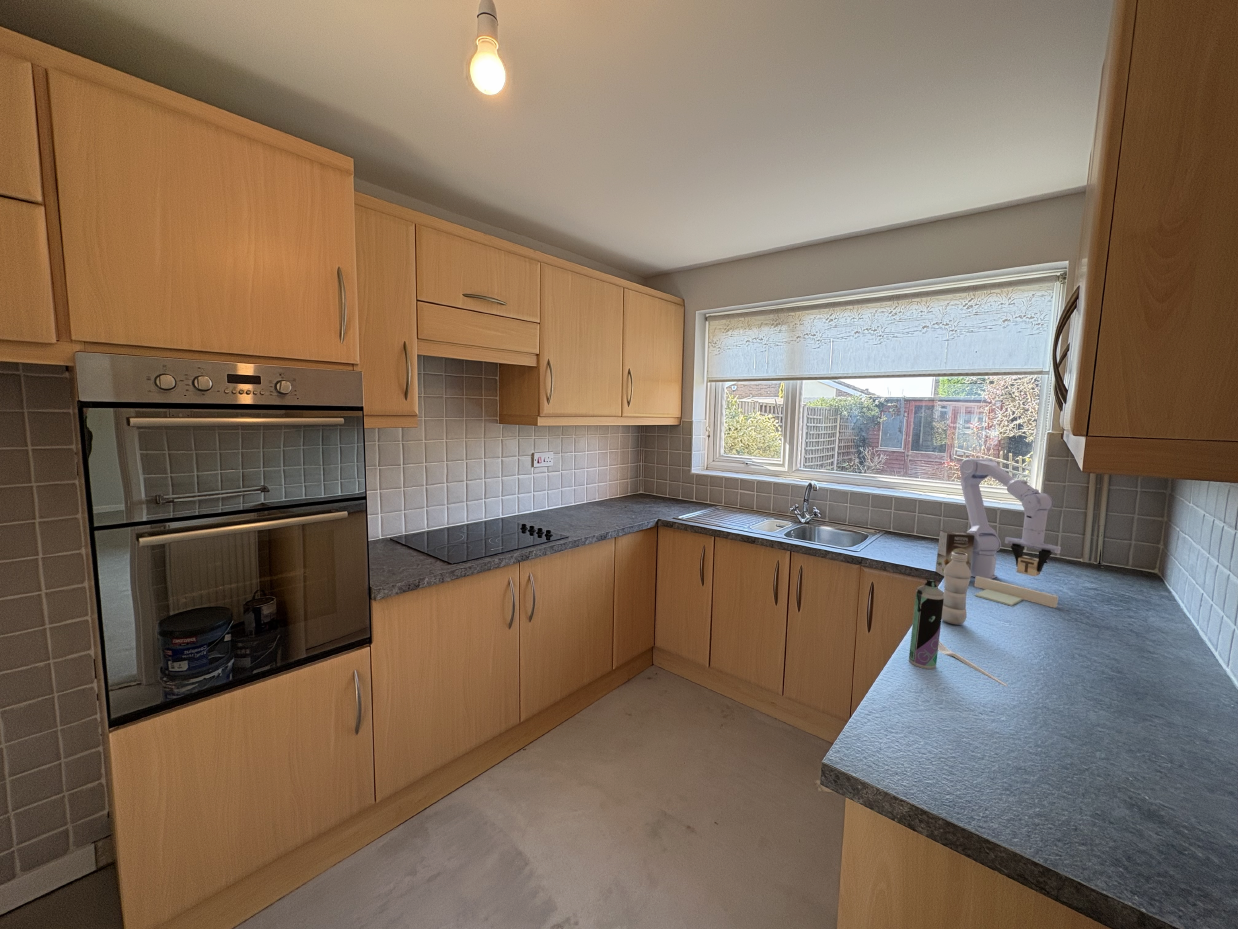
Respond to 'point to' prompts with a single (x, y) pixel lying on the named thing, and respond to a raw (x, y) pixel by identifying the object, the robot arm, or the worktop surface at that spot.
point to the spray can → (926, 625)
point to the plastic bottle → (956, 589)
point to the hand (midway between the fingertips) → (1028, 568)
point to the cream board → (1017, 591)
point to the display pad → (998, 597)
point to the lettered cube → (1027, 566)
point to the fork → (965, 661)
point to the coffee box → (953, 548)
